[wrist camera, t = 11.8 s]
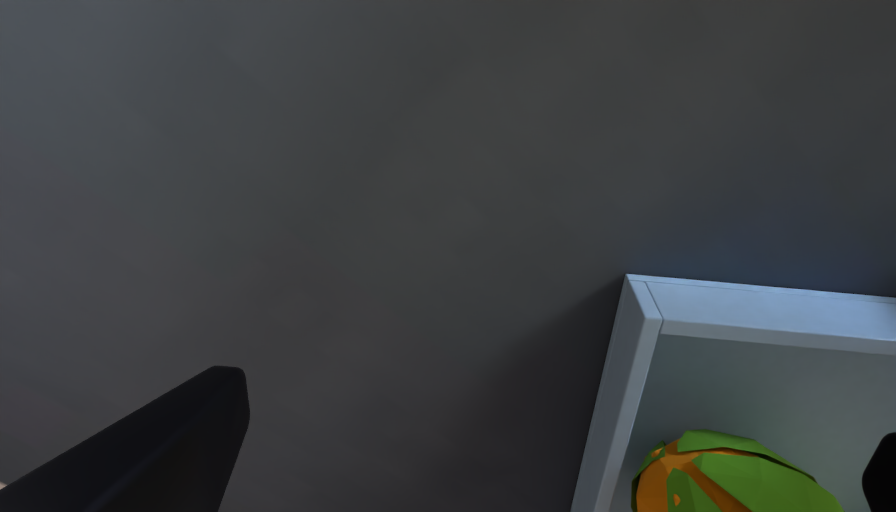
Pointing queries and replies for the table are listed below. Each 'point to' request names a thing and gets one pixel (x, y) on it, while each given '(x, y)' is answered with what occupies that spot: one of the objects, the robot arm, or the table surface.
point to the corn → (724, 478)
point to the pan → (742, 381)
